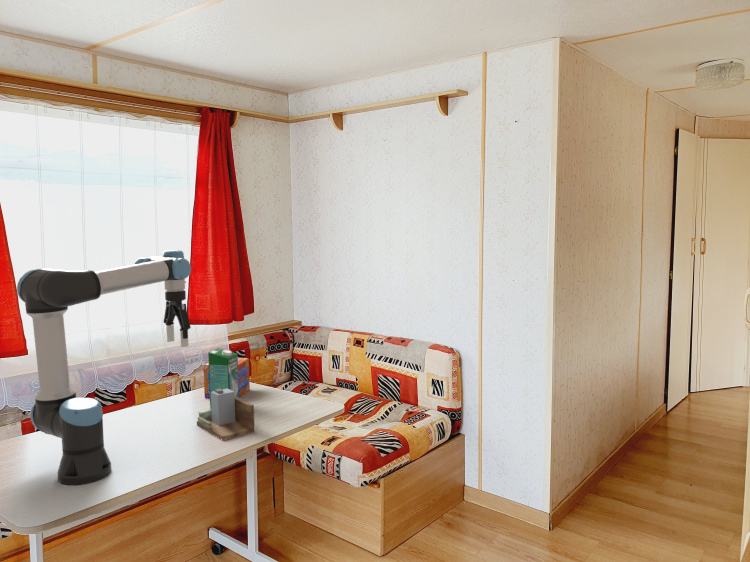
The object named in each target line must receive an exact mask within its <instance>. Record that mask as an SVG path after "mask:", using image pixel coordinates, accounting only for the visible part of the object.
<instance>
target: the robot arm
mask: <svg viewBox="0 0 750 562" xmlns="http://www.w3.org/2000/svg"><path fill="white" fill-rule="evenodd" d="M162 254H163V255H161V256H144V257H138V258H137V259H136V260H135V262H134V264H131V265H127V266H126V265H125V266H120V267H115V268H110V269H109V268H108V269H104V270H100V271H99V270H98V271H95V270H94V269H85V270H66V269H53V268H46V267H45V268H44V267H43V268H34V269H31V270H29V271H27V272H25V273H24V274H23V275H22V276H21V277H20V278H19V280H18V282H17V286H16V290H17V291H16V292H17V295H18V297H19V299H20V300H21V301H22V302H23V303H24V305H25V313H26V315H28V316H29V317H31V319H32V326H33V336H34V337H33V338H34V347H35V355H36V356H35V357H36V365H37V366H36V367H37V374H38V375H37V376H38V384H39V392H38V393H37V394H36V395H35V397H34V398H35V399H34V401H35V402H34V405H33V406H32V407H31V410H30V415H29V416H30V421H31V423H32V426H34V427H35V429H37V430H39V431H40V432H42V433H44V434H45V435H51V436H54V437H56V438H60V439H61V445H62V446H61V449H62V450H61V451H62V454H61V455H62V456H61V459H60V462H59V467H58V469H57V472H56V473H57V482H59V483H61V484H64V485H69V486H70V485H73V486H74V485H75V486H77V485H85V484H89V483H92V482H96V481H99V480H101V479H103V478H106V477H107V476H109V474H110V473H111V471H112V462H111V460H110V457H109V456H108V453H107V450H106V449H105V444H104V442H105V441H104V423H103V421H104V420H103V417H104V414H103V413H104V412H103V409H102V408H103V407H102V404H101V402H100V401H98V399H94V398H91V397H77V389H75V388H73V387H72V386H71V381H70V372H69V362H68V353H67V351H68V350H67V342H66V340H67V339H66V332H65V331H66V329H65V319H64V315H65V314H66V312H67V311H68V310H69V307H72V306H76V305H79V304H82V303H85V302H86V303H87V302H90V301H94V300H98V299H99V298H101V295H102V296H103V295H107V294H110V293H111V294H112V293H116V292H120V291H124V290H129V289H134V288H138V287H144V286H148V285H152V284H157V283H162V282H164V283H163V284H164V290H165V292H164V294H165V298H164V299H165V309H164V317H163V323H164V324H165V326H166V328H165V329H166V342H167V343H171V342H175V326H174V325H175V317H176V318H177V320H178V324H179V327H180V329H179V332H180V333H179V335H180V336H179V337H180V348H185V347H187V348H189V330H190V329H191V327H192V326H191V323H190V318H189V315H188V311H187V304H186V303H183V301H185V300H186V299H187V297H186V296H187V294H186V283H187V282H186V278H188V277H189V276H190V274H191V271H192V266H191V263H190V261H188V260H187V259H186V258H185V254H184V252H183V251H182V250H179V249H178V250H175V249H174V250H173V249H172V250H164V251H163V252H162Z"/></svg>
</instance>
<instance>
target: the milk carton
mask: <svg viewBox="0 0 750 562" xmlns="http://www.w3.org/2000/svg"><path fill="white" fill-rule="evenodd" d="M207 355H208V362H209V385H210V398H209V402H210V403H209V405H210V407H209V408H210V409H211V392H213V391H215V390H216V389H221V390H222V389H227V388H228V389H230V390H232V391H234V392H235V397H238V398H240V397H239V387H238V358H239V357H238V353H237V352H233V351H232V350H229V349H223V348H220V347H217V348H215V349H213V350H210V351H208V353H207ZM210 409H209V410H210Z"/></svg>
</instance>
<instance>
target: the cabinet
mask: <svg viewBox="0 0 750 562" xmlns="http://www.w3.org/2000/svg"><path fill="white" fill-rule="evenodd" d="M211 411H212V422H213V423H215V424H217V425H218V426H220V425H224V424H228V423H232V422H236V420H235V392H234V391H232V390H230V389H228V388H227V389H222V390H221V389H216V390H215V391H213V392H211Z"/></svg>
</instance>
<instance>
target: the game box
mask: <svg viewBox="0 0 750 562" xmlns="http://www.w3.org/2000/svg"><path fill="white" fill-rule="evenodd" d="M249 362H250V359H249V358H247V357H238V387H239V398H241V397H242V396H243V395H245V394H246V393H247V392H249V391H250V390H251V389H250V388H251V385H250V363H249ZM203 390H204V399H210V385H209V361H208V362H207V363H204V364H203Z"/></svg>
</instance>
